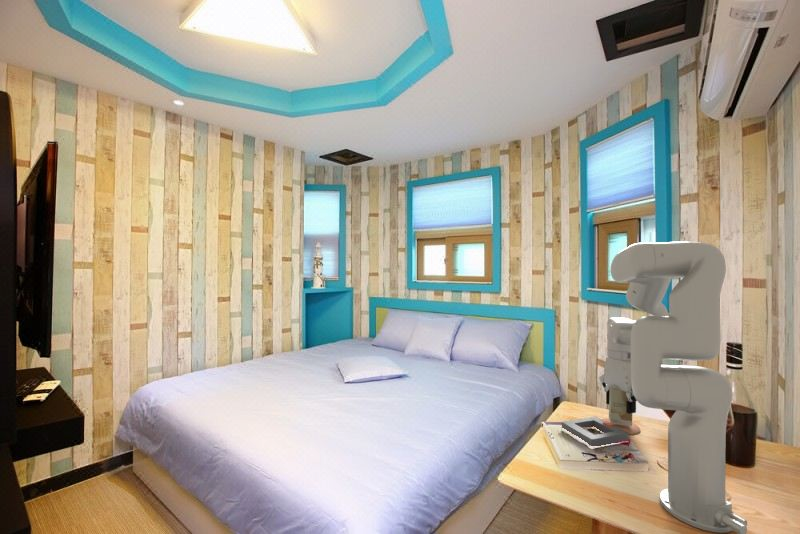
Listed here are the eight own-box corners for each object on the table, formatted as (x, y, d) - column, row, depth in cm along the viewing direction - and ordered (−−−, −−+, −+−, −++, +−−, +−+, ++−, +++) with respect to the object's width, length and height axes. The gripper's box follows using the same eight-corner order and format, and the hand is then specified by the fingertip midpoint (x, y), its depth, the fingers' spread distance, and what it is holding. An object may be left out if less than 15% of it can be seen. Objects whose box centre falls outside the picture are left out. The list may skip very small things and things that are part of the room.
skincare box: (610, 423, 115) (610, 386, 115) (608, 417, 119) (608, 382, 119) (633, 426, 112) (633, 389, 112) (630, 421, 116) (630, 384, 116)
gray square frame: (628, 442, 105) (628, 430, 105) (591, 449, 101) (591, 437, 101) (596, 425, 117) (596, 414, 117) (561, 430, 113) (561, 419, 113)
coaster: (648, 432, 112) (648, 430, 112) (622, 436, 109) (622, 435, 109) (618, 417, 122) (618, 416, 122) (593, 421, 119) (593, 420, 119)
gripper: (654, 360, 108) (654, 417, 108) (607, 348, 125) (607, 397, 125) (636, 362, 106) (636, 420, 106) (590, 349, 123) (590, 399, 123)
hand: (620, 407), depth 115 cm, fingers closed on skincare box, 7 cm apart
